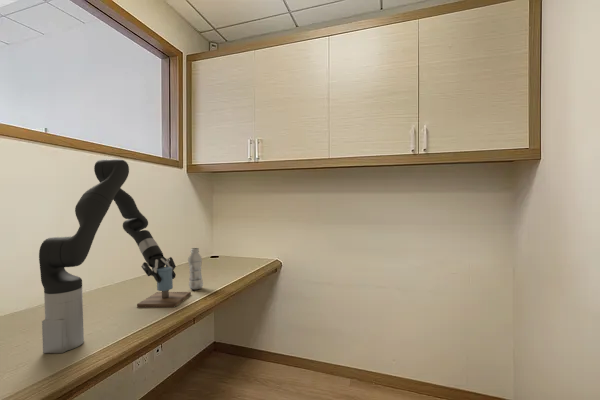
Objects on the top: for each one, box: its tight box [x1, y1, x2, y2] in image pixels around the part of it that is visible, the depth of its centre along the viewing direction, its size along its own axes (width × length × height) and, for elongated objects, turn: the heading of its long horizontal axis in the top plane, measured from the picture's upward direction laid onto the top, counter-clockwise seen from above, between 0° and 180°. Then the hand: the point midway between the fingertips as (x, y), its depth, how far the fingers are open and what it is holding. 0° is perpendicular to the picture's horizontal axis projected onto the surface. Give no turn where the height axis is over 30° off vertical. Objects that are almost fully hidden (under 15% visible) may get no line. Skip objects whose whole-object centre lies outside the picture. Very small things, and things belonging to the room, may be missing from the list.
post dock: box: [136, 290, 192, 309], centre depth 134 cm, size 16×16×8 cm
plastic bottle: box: [187, 247, 204, 291], centre depth 151 cm, size 6×7×20 cm
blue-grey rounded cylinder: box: [156, 266, 174, 292], centre depth 134 cm, size 6×6×9 cm
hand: (167, 279), depth 133 cm, fingers closed on blue-grey rounded cylinder, 6 cm apart
